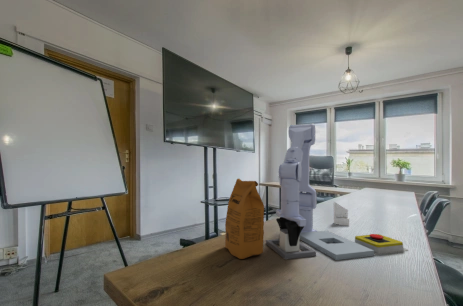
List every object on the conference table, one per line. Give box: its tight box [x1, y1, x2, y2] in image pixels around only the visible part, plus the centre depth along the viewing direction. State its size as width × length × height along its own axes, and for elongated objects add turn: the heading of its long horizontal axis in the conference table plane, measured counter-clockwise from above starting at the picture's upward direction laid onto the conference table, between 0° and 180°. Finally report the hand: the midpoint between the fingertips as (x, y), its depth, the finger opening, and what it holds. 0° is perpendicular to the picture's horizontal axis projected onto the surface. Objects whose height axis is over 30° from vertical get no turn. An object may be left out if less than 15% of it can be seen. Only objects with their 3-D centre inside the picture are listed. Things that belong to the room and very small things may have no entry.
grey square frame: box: [265, 238, 317, 260], centre depth 68 cm, size 12×10×1 cm
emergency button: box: [354, 233, 409, 256], centre depth 72 cm, size 9×4×15 cm
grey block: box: [279, 228, 301, 253], centre depth 68 cm, size 4×5×6 cm
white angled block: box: [333, 201, 350, 226], centre depth 101 cm, size 4×10×9 cm
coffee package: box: [224, 178, 265, 260], centre depth 67 cm, size 10×12×22 cm
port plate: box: [300, 230, 375, 261], centre depth 73 cm, size 20×14×2 cm
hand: (289, 243), depth 68 cm, fingers open, 4 cm apart
